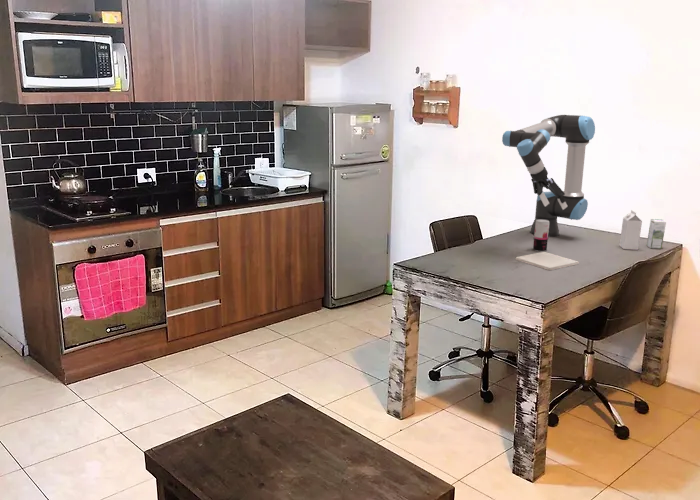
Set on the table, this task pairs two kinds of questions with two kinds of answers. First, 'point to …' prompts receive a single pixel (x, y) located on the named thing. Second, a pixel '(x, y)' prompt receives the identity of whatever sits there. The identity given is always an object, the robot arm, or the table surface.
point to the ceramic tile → (547, 260)
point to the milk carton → (630, 231)
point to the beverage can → (541, 235)
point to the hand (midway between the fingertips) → (555, 206)
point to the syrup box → (656, 233)
